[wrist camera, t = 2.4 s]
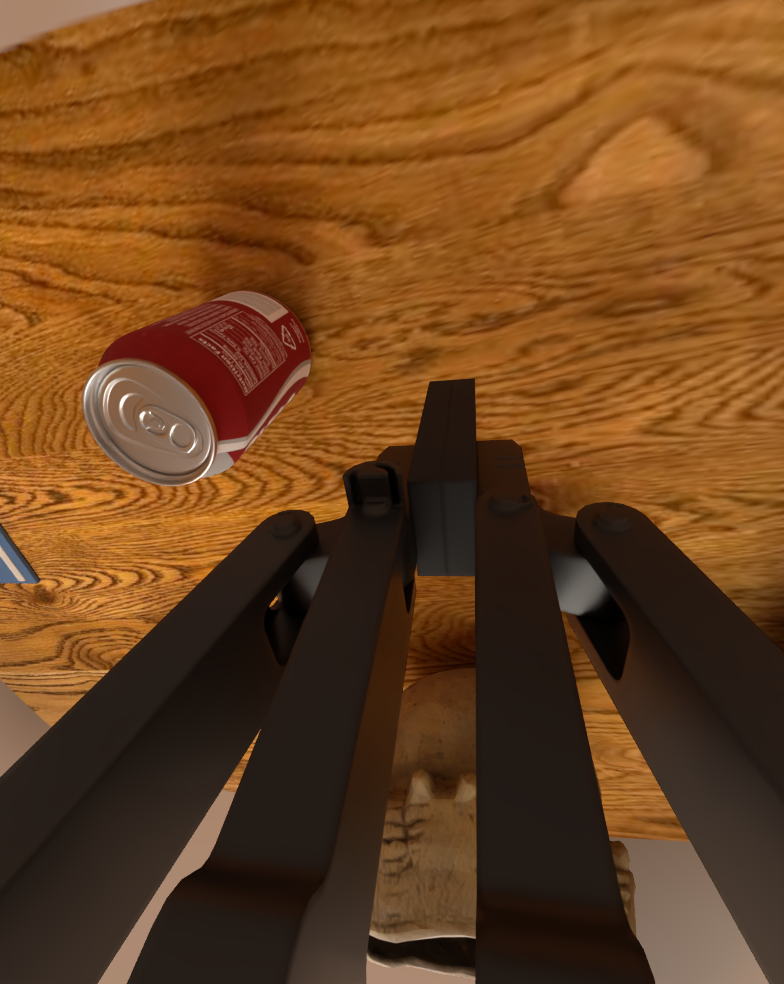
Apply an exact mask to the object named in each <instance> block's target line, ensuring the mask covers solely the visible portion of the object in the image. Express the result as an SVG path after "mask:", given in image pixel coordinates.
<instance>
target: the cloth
mask: <svg viewBox="0 0 784 984" xmlns="http://www.w3.org/2000/svg"><path fill="white" fill-rule="evenodd" d="M39 582H40V579H39V578H38V577H37V575H36V574H35V572H34V571H33V570H32V568H31V567H30V566H29V564H28V563H27V561H26V560H25V559H24V557H23V556H22V554H21V553H20V552H19V550H18V549H17V547H16V546H15V545H14V543H13V542H12V540H11V539H10V538H9V536H8V535H7V534H6V532H5V531H4V529H3V528H2V527H1V525H0V583H39Z"/></svg>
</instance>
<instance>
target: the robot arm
mask: <svg viewBox="0 0 784 984" xmlns="http://www.w3.org/2000/svg"><path fill="white" fill-rule="evenodd" d="M343 480H344V485H345V490H346V495H347V500H348V505H349V508H348V510H347V513H346V515H345V516H344V517H342V518H339V519H336V520H332V521H328V522H323V523H319V524H315V520H314V517H313V516H312V515H311V514H310V513H309V512H306V511H303V510H286V511H282V512H279V513H277V514H275V515H272V516H270V517H268V518H267V519H266V520H264V521H263V522H262V523H261V524H259V525H258V526H257V527H256V528H255V529H254V530H253V531H252V532H251V533H250V534H249V535H248V536H247V537H246V538H245V539H244V540H243V541H242V542H241V543H240V544H239V545H238V546H237V547H236V548H235V549H234V550H233V551H232V552H231V553H230V554H229V555H228V556H227V557H226V558H225V559H224V560H223V561H222V562H221V563H220V564H218V565H217V566H216V567H215V568H214V569H213V570H212V571H211V572H210V573H209V574H208V575H207V576H206V577H205V578H204V579H203V580H202V581H201V582H200V583H199V584H198V585H197V586H196V587H195V588H194V589H193V590H192V591H191V592H190V593H189V594H188V595H187V596H186V597H185V598H184V599H183V600H182V601H181V602H180V603H178V604H177V605H176V606H175V607H174V608H173V609H172V610H171V611H170V612H169V613H168V614H167V615H166V616H165V617H164V618H163V619H162V620H161V621H160V622H159V623H158V624H157V625H156V626H155V627H154V628H153V629H152V630H151V631H150V632H149V633H148V634H147V635H146V636H145V637H144V638H143V639H142V640H141V641H140V642H139V643H137V644H136V645H135V646H134V647H133V648H132V649H131V650H130V651H129V652H128V653H127V654H126V655H125V656H124V657H123V658H122V659H121V660H120V661H119V662H118V663H117V664H116V665H115V666H114V667H113V668H112V669H111V670H110V671H109V672H108V673H107V674H106V675H105V676H104V677H103V678H102V679H101V680H100V681H99V682H98V683H96V684H95V685H94V686H93V687H92V688H91V689H90V690H89V691H88V692H87V693H86V694H85V695H84V696H83V697H82V698H81V699H80V700H79V701H78V702H77V703H76V704H75V705H74V706H73V707H72V708H71V709H70V710H69V711H68V712H67V713H66V714H65V715H64V716H63V717H62V718H61V719H60V720H59V721H58V722H56V723H55V724H54V725H53V726H52V727H51V728H50V729H49V730H48V731H47V732H46V733H45V734H44V735H43V736H42V737H41V738H40V739H39V740H38V741H37V742H36V743H35V744H34V745H33V746H32V747H31V748H30V749H29V750H28V751H27V752H26V753H25V754H24V755H23V756H22V757H21V758H20V759H19V760H18V761H17V762H16V763H14V764H13V765H12V766H11V767H10V768H9V769H8V770H7V771H6V772H5V773H4V774H3V775H2V776H1V777H0V984H97V983H98V982H99V980H100V979H101V977H102V976H103V974H104V972H105V971H106V969H107V968H108V966H109V965H110V963H111V961H112V960H113V958H114V957H115V955H116V954H117V952H118V951H119V949H120V948H121V946H122V944H123V943H124V941H125V940H126V938H127V937H128V935H129V933H130V932H131V930H132V929H133V927H134V926H135V924H136V922H137V921H138V919H139V918H140V916H141V915H142V913H143V912H144V910H145V909H146V907H147V905H148V904H149V902H150V901H151V899H152V898H153V896H154V894H155V893H156V891H157V890H158V888H159V887H160V885H161V884H162V882H163V880H164V879H165V877H166V876H167V874H168V873H169V871H170V870H171V868H172V866H173V865H174V863H175V862H176V860H177V859H178V857H179V855H180V854H181V852H182V851H183V849H184V848H185V846H186V845H187V843H188V842H189V840H190V838H191V837H192V835H193V834H194V832H195V830H196V829H197V827H198V826H199V824H200V823H201V821H202V820H203V818H204V817H205V815H206V813H207V812H208V810H209V809H210V807H211V805H212V804H213V803H214V801H215V799H216V798H217V796H218V795H219V793H220V792H221V790H222V789H223V787H224V785H225V784H226V782H227V781H228V779H229V778H230V776H231V774H232V773H233V771H234V770H235V768H236V767H237V765H238V764H239V762H240V760H241V759H242V757H243V756H244V754H245V753H246V751H247V750H248V748H249V746H250V745H251V743H252V742H253V740H254V739H255V737H256V736H257V734H258V732H259V731H260V733H259V735H258V738H257V740H256V743H255V746H254V748H253V751H252V753H251V756H250V758H249V761H248V763H247V766H246V768H245V771H244V773H243V776H242V778H241V781H240V783H239V786H238V789H237V791H236V794H235V796H234V799H233V801H232V804H231V806H230V809H229V811H228V814H227V816H226V819H225V821H224V824H223V827H222V829H221V832H220V834H219V837H218V839H217V842H216V844H215V846H214V849H213V850H212V852H211V854H210V857H209V858H208V860H207V861H206V862H205V863H204V865H203V866H202V867H201V868H199V869H198V870H196V871H194V872H193V873H191V874H190V875H188V876H187V877H185V878H183V879H182V880H181V881H180V882H179V883H178V885H177V886H176V887H175V888H174V890H173V891H172V892H171V894H170V895H169V896H168V897H167V899H166V901H165V903H164V904H163V906H162V908H161V910H160V912H159V914H158V916H157V918H156V920H155V922H154V924H153V926H152V928H151V930H150V932H149V934H148V937H147V939H146V941H145V943H144V946H143V948H142V950H141V953H140V955H139V957H138V960H137V962H136V964H135V966H134V969H133V971H132V973H131V976H130V978H129V980H128V983H127V984H366V960H367V949H368V940H369V933H370V926H371V918H372V911H373V904H374V897H375V889H376V882H377V875H378V867H379V860H380V853H381V846H382V838H383V831H384V824H385V816H386V809H387V802H388V795H389V787H390V780H391V773H392V765H393V758H394V751H395V744H396V736H397V729H398V722H399V714H400V707H401V700H402V693H403V685H404V678H405V671H406V664H407V656H408V649H409V642H410V634H411V627H412V620H413V613H414V605H415V598H416V584H415V576H414V575H415V569H416V563H417V571H418V576H475V658H476V861H477V903H476V956H475V983H476V984H655V980H654V977H653V974H652V971H651V968H650V966H649V963H648V960H647V958H646V955H645V952H644V949H643V948H642V946H641V944H640V943H639V941H638V940H637V938H636V936H635V935H634V933H633V931H632V930H631V928H630V925H629V922H628V919H627V916H626V913H625V909H624V905H623V901H622V897H621V892H620V887H619V882H618V878H617V873H616V868H615V864H614V859H613V854H612V850H611V845H610V840H609V835H608V831H607V826H606V821H605V817H604V812H603V807H602V803H601V798H600V793H599V788H598V784H597V779H596V774H595V770H594V765H593V760H592V756H591V751H590V746H589V741H588V737H587V732H586V727H585V723H584V718H583V713H582V709H581V704H580V699H579V694H578V690H577V685H576V680H575V676H574V671H573V666H572V662H571V657H570V652H569V647H568V643H567V638H566V633H565V629H564V624H563V619H562V615H561V611H563V612H566V615H567V619H568V622H569V623H570V625H571V627H572V629H573V631H574V632H575V634H576V636H577V638H578V640H579V641H580V643H581V645H582V647H583V649H584V650H585V652H586V654H587V656H588V658H589V659H590V661H591V663H592V665H593V667H594V668H595V670H596V672H597V674H598V676H599V677H600V679H601V681H602V683H603V685H604V686H605V688H606V690H607V692H608V694H609V695H610V697H611V699H612V701H613V703H614V705H615V706H616V708H617V710H618V712H619V714H620V715H621V717H622V719H623V721H624V723H625V724H626V726H627V728H628V730H629V732H630V733H631V735H632V737H633V739H634V741H635V742H636V744H637V746H638V748H639V750H640V751H641V753H642V755H643V757H644V759H645V760H646V762H647V764H648V766H649V768H650V769H651V771H652V773H653V775H654V777H655V778H656V780H657V782H658V784H659V786H660V787H661V789H662V791H663V793H664V795H665V796H666V798H667V800H668V802H669V804H670V806H671V807H672V809H673V811H674V813H675V815H676V816H677V818H678V820H679V822H680V824H681V825H682V827H683V829H684V831H685V833H686V834H687V836H688V838H689V840H690V842H691V843H692V845H693V847H694V849H695V851H696V852H697V854H698V856H699V858H700V860H701V861H702V863H703V865H704V867H705V869H706V870H707V872H708V874H709V876H710V878H711V879H712V881H713V883H714V885H715V887H716V888H717V890H718V892H719V894H720V896H721V897H722V899H723V901H724V903H725V905H726V906H727V908H728V910H729V912H730V914H731V916H732V917H733V919H734V921H735V923H736V924H737V926H738V928H739V930H740V932H741V934H742V935H743V937H744V939H745V941H746V943H747V944H748V946H749V948H750V950H751V952H752V953H753V955H754V957H755V959H756V960H757V962H758V964H759V966H760V968H761V969H762V971H763V973H764V975H765V977H766V979H767V980H768V982H769V984H784V652H783V651H782V650H781V649H780V648H779V647H778V646H777V645H776V644H775V643H774V642H773V641H772V640H771V639H770V638H769V637H768V636H767V635H766V634H765V633H764V632H763V631H762V630H761V629H760V628H759V627H758V626H757V625H756V624H755V623H754V622H753V621H752V620H751V619H750V618H749V617H748V616H747V615H746V614H745V613H744V612H742V611H741V610H740V609H739V608H738V607H737V606H736V605H735V604H734V603H733V602H732V601H731V600H730V599H729V598H728V597H727V596H726V595H725V594H724V593H723V592H722V591H721V590H720V589H719V588H718V587H717V586H716V585H715V584H714V583H713V582H712V581H711V580H710V579H709V578H708V577H707V576H706V575H705V574H704V573H703V572H702V571H701V570H700V569H699V568H698V567H697V566H696V565H695V564H694V563H693V562H692V561H691V560H690V559H689V558H688V557H687V556H686V555H685V554H684V553H683V552H682V551H681V550H680V549H679V548H678V547H677V546H676V545H675V544H674V543H673V542H672V541H671V540H670V539H669V538H668V537H667V536H666V535H665V534H664V533H663V532H662V531H661V530H660V529H659V528H658V527H657V526H656V525H655V524H654V523H653V522H651V521H650V520H649V519H648V518H647V517H646V516H645V515H644V514H642V513H641V512H640V511H638V510H637V509H635V508H632V507H629V506H626V505H624V504H619V503H612V502H602V503H594V504H590V505H587V506H585V507H583V508H582V509H581V510H579V511H578V513H577V516H576V518H573V517H567V516H562V515H557V514H553V513H551V512H548V511H546V510H544V509H542V508H541V507H539V506H538V502H537V501H536V499H535V497H534V496H533V495H531V493H530V488H529V483H528V478H527V473H526V468H525V463H524V459H523V453H522V448H521V447H520V446H519V445H518V444H517V443H516V442H514V441H513V440H490V441H476V407H475V378H473V379H459V380H445V381H431V382H430V383H429V387H428V391H427V396H426V400H425V404H424V409H423V413H422V417H421V422H420V426H419V430H418V435H417V439H416V443H415V445H408V446H389V447H388V448H386V449H385V450H384V451H383V452H382V453H381V454H379V456H378V459H377V460H376V461H369V462H364V463H361V464H358V465H355V466H353V467H352V468H350V469H348V470H347V471H346V472H345V473H344V475H343ZM276 596H277V597H278V600H277V601H276V602H275V604H274V605H273V606H271V607H269V605H270V604H271V602H272V601H273V600H274V599H275V597H276ZM260 729H261V730H260Z"/></svg>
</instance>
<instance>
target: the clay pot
mask: <svg viewBox="0 0 784 984" xmlns="http://www.w3.org/2000/svg"><path fill="white" fill-rule="evenodd" d="M593 765H594V764H593ZM594 770H595V767H594ZM595 774H596V771H595ZM596 779H597V784H598V788H599V793H600V798H601V790H600V786H599V782H598V778H597V775H596ZM601 803H602V799H601ZM610 845H611V850H612V854H613V859H614V864H615V868H616V873H617V878H618V882H619V887H620V892H621V897H622V901H623V905H624V909H625V913H626V916H627V919H628V922H629V925H630V928H631V930H632V931H633V933H634V935H635V936H636V919H635V907H634V893H635V883H634V878H633V874H632V872H630V870H629V869H628V868H629V861H630V860H629V856H628V851H627V849H626V847H625V846H624V844H623V843H622V842H620V841H614V842H613V841H610ZM476 903H477V861H476V668H459V669H453V670H448V671H443V672H438V673H434V674H431V675H429V676H427V677H424V678H422V679H420V680H419V681H417V682H415V683H414V684H412V685H410V686H409V687H408V688H407V689H405V690H404V691H403V693H402V700H401V707H400V714H399V722H398V729H397V736H396V744H395V751H394V758H393V765H392V773H391V780H390V787H389V795H388V802H387V809H386V816H385V824H384V831H383V838H382V846H381V853H380V860H379V867H378V875H377V882H376V889H375V897H374V904H373V911H372V918H371V926H370V933H369V940H368V949H367V960H369V961H370V962H372V963H375V964H379V965H381V966H384V967H386V968H394V967H403V966H411V967H416V968H420V969H424V970H428V971H432V972H436V973H440V974H447V975H456V976H460V977H466V978H470V979H474V980H475V956H476Z"/></svg>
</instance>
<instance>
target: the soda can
mask: <svg viewBox="0 0 784 984" xmlns="http://www.w3.org/2000/svg"><path fill="white" fill-rule="evenodd" d="M310 368H311V347H310V343H309V339H308V336H307V334H306V331H305V329H304V327H303V326H302V324H301V322H300V321H299V319H298V318H297V317H296V315H295V314H294V313H293V312H292V311H291V310H290V309H289V308H288V307H287V306H286V305H285V304H283V303H282V302H281V301H279V300H278V299H276V298H274V297H272V296H270V295H268V294H265V293H262V292H258V291H253V290H240V291H235V292H232V293H229V294H226V295H224V296H221V297H219V298H216V299H214V300H211V301H209V302H206V303H204V304H201V305H199V306H196V307H194V308H191V309H189V310H186V311H184V312H181V313H179V314H176V315H173V316H171V317H168V318H166V319H163V320H161V321H158V322H156V323H153V324H151V325H148V326H146V327H143V328H141V329H138V330H136V331H133V332H131V333H128V334H126V335H124V336H122V337H120V338H119V339H117V340H116V341H114V342H113V343H112V344H111V345H110V346H109V347H108V348H107V349H106V351H105V352H104V354H103V356H102V358H101V360H100V362H99V366H98V368H97V369H95V370H94V371H93V372H92V373H91V374H90V376H89V377H88V379H87V380H86V382H85V385H84V388H83V392H82V409H83V414H84V418H85V421H86V424H87V426H88V428H89V430H90V432H91V434H92V436H93V438H94V439H95V441H96V442H97V444H98V445H99V446H100V448H101V449H102V450H103V451H104V452H105V453H106V455H107V456H108V457H109V458H110V459H112V460H113V461H114V462H115V463H116V464H117V465H119V466H120V467H121V468H123V469H124V470H125V471H127V472H129V473H130V474H132V475H134V476H136V477H138V478H140V479H142V480H144V481H147V482H150V483H154V484H157V485H163V486H181V485H186V484H189V483H192V482H194V481H196V480H198V479H199V478H204V477H210V476H213V475H217V474H219V473H221V472H223V471H225V470H227V469H228V468H230V467H231V466H232V465H234V464H235V463H236V462H237V461H238V459H239V458H240V457H241V456H242V455H243V454H244V453H245V452H246V450H247V449H248V448H249V447H250V446H251V445H252V444H253V442H254V441H255V440H256V439H257V438H258V437H259V436H260V435H261V433H262V432H263V431H264V430H265V429H266V428H267V427H268V425H269V424H270V423H271V422H272V421H273V420H274V419H275V418H276V416H277V415H278V414H279V413H280V412H281V411H282V410H283V408H284V407H285V406H286V405H287V404H288V403H289V402H290V401H291V399H292V398H293V397H294V396H295V395H296V394H297V393H298V391H299V390H300V389H301V388H302V387H303V385H304V384H305V382H306V380H307V378H308V375H309V373H310Z"/></svg>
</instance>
